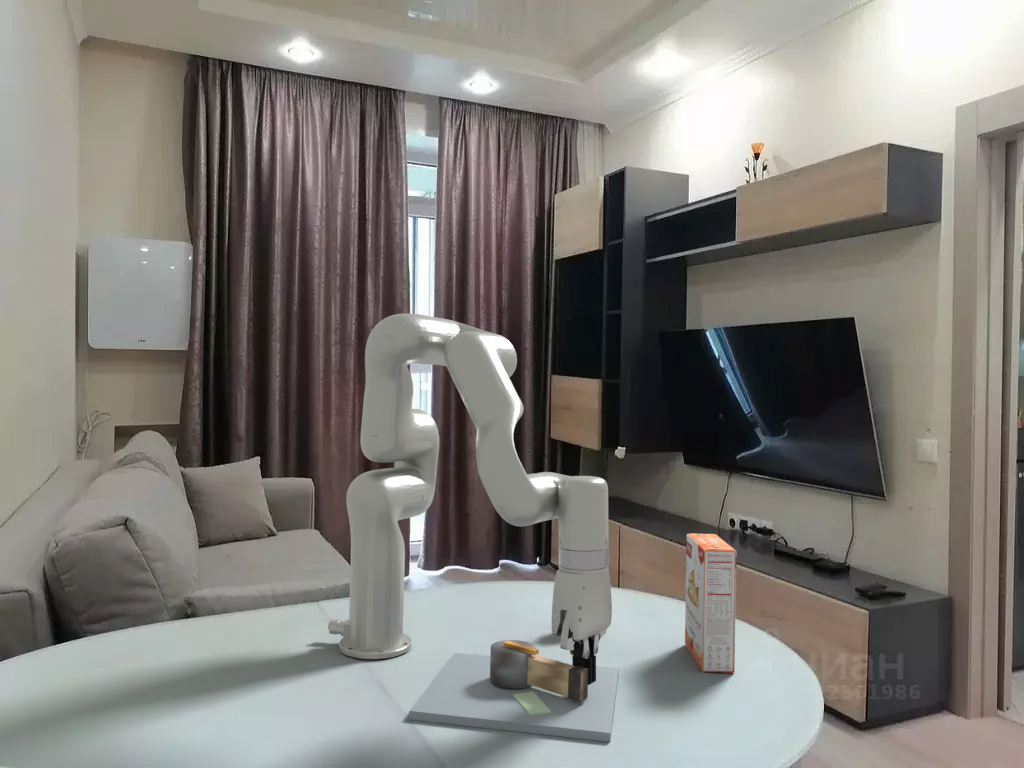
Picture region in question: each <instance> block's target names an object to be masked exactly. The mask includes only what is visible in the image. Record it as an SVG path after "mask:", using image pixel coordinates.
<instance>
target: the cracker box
mask: <svg viewBox="0 0 1024 768" xmlns="http://www.w3.org/2000/svg"><path fill="white" fill-rule="evenodd" d="M685 548H686V549H685V551H686V552H685V553H686V554H685V556H686V557H685V558H686V559H685V567H686V568H685V569H686V570H685V617H684V620H685V621H684V622H685V623H684V644H685V646H686V648H687V649H688V651H689V652H690V654H691V656H692V658H693V659H694V661H695V662H696V665H697V666H698V668H699V669H700V672H702V673H725V674H726V673H729V674H730V673H732V674H734V673H735V668H736V667H735V661H736V660H735V658H736V656H735V655H736V607H737V606H736V605H737V604H736V603H737V601H736V599H737V598H736V595H737V594H736V593H737V562H738V561H737V559H738V558H737V557H738V555H737V550H735V548H734V547H733V546H731V545H730V544H728V543H727V542H726V541H725V540H723V539H722V538H721V537H720V536H718V535H717V533H716V534H715V533H698V532H697V533H694V532H693V533H687V534H686V547H685Z"/></svg>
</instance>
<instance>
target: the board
mask: <svg viewBox="0 0 1024 768" xmlns="http://www.w3.org/2000/svg"><path fill="white" fill-rule="evenodd" d="M565 663H566V664H569V665H573V663H567V662H565ZM619 673H620V668H619V667H610V666H599V665H596V681H595V682H594V683H592V684H590V685H588V697H587V698H586V699H584V700H582V701H581V702H578V701H575V700H571V699H568V697H566V696H563V695H560V694H557V693H554V692H551V691H548V690H544V689H541V688H538V687H535V686H532V685H530V686H528V687H525V688H517V689H510V688H503V687H499V686H496V685H494V684H493V683H491V681H490V655H484V654H472V653H463V652H462V653H461V652H453V654H452V655H451V657H449V659H448V660H447V662H446V663H445V664H444V665H443V666H442V668H441V669H440V671H438V673H437V675H436V676H435V678H433V680H432V681H431V682H430V684H429V685H428V686H427V688H426V689H425V690H424V692H423V693H422V694H421V696H419V699H418V700H417V701H416V702H415V703H414V705H413V706H412V707H411V709H410V710H409V720H412V721H420V722H430V723H439V724H447V725H458V726H466V727H473V728H474V727H475V728H482V729H493V730H500V731H501V730H502V731H509V732H516V733H517V732H519V733H527V734H536V735H546V736H552V737H553V736H554V737H561V738H570V739H571V738H573V739H579V740H580V739H581V740H588V741H589V740H590V741H598V742H606V743H611V739H612V731H613V723H614V715H615V707H616V701H615V700H616V699H617V693H616V692H617V691H618V683H619V676H620V674H619Z"/></svg>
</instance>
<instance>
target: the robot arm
mask: <svg viewBox="0 0 1024 768" xmlns="http://www.w3.org/2000/svg"><path fill="white" fill-rule="evenodd" d="M366 340H367V341H366V345H365V353H364V355H365V356H364V366H365V367H364V369H365V385H364V387H365V388H364V393H363V405H362V416H361V425H360V448H361V452H362V453H363V455H364V457H366V459H368V460H369V461H372V462H375V463H394V467H388V468H381V469H373V470H369V471H366V472H363V473H361V474H359V475H358V476H356V477H355V478H354V479H353V480H352V482H350V484H349V486H348V489H347V491H346V497H345V499H346V501H345V502H346V509H347V515H348V521H349V529H350V530H349V531H350V576H349V577H350V578H349V605H348V606H349V608H348V609H349V612H348V613H349V614H348V615H349V617H348V619H346V620H341V619H332V618H331V619H330V620H329V622H328V625H327V629H328V633H329V635H341V637H342V638H341V640H340V641H339V651H340V652H341V653H342V654H344V655H345V656H348V657H351V658H355V659H360V660H361V659H362V660H380V659H381V660H383V659H390V658H394V657H398V656H401V655H403V654H406V653H407V652H408V651H409V650H410V649H411V648H412V639H411V637H410V636H409V635H407V634H405V633H404V608H405V607H404V604H405V602H404V599H405V569H406V568H405V565H406V564H405V563H406V561H405V559H406V557H405V556H406V546H405V540H404V536H403V534H402V532H401V531H402V530H401V528H400V525H399V523H398V522H399V521H401V520H405V519H410V518H414V517H417V516H420V515H422V514H424V513H426V511H427V510H428V509H429V508H430V506H431V505H432V503H433V500H434V497H435V492H436V485H437V484H436V483H437V475H438V474H437V472H438V464H439V463H438V462H439V452H440V434H439V429H438V426H437V423H436V421H435V419H434V418H433V417H432V416H431V415H430V414H429V413H428V412H427V411H425V410H422V409H419V408H413V397H414V384H413V379H412V375H411V372H410V369H409V368H408V366H409V365H412V364H421V365H431V366H432V365H433V366H434V365H435V366H443V367H446V369H447V371H448V373H449V375H450V377H451V379H452V381H453V383H454V385H455V388H456V389H457V391H458V394H459V395H460V398H461V400H462V402H463V404H464V406H465V408H466V410H467V412H468V415H469V417H470V419H471V421H472V423H473V425H474V427H475V430H476V431H475V432H476V436H475V462H476V467H477V472H478V475H479V478H480V480H481V483H482V486H483V488H484V490H485V492H486V493H487V496H488V497H489V499H490V500H489V501H490V502H491V504H492V505H493V507H494V510H495V511H496V512H497V513H498V514H499V515H498V516H500V517H501V518H502V519H503V520H504V521H505V522H506V523H508V524H509V525H511V526H515V527H520V528H521V527H527V526H531V525H535V524H538V523H542V522H545V521H546V522H547V521H550V520H554V519H558V569H557V570H556V572H555V573H556V574H555V577H554V578H555V579H554V584H553V590H552V591H553V592H552V604H551V633H552V636H554V637H560V644H559V648H560V649H561V650H565V651H569V654H570V655H571V656H572V661H571V662H572V664H573V666H576V665H577V666H581V667H584V668H588V685H590V684H592V683H594V682H595V681H596V666H597V654H598V652H599V643H600V640H601V638H602V637H604V635H606V634H607V630H608V629H609V628H610V626H611V624H612V614H613V613H612V612H613V607H612V606H613V605H612V604H613V603H612V588H611V585H612V584H611V578H610V572H609V571H610V569H609V567H610V566H609V564H610V563H609V561H610V559H609V555H610V554H609V553H610V552H609V549H610V548H609V486H608V483H607V481H606V479H604V478H602V477H599V476H595V475H594V476H592V475H572V476H571V475H566V474H561V473H558V472H557V473H556V472H551V471H542V472H537V473H527V472H526V469H525V468H524V466H523V464H522V462H521V461H520V458H519V455H518V452H517V450H516V447H515V441H514V433H515V428H516V425H517V423H518V421H519V420H520V419H521V417H522V416H523V414H524V409H525V407H524V404H523V402H522V400H521V398H520V397H519V395H518V392H517V391H516V388H515V387H514V384H513V382H512V380H511V377H512V376H513V374H514V373H515V371H516V369H517V365H518V358H517V357H518V356H517V352H516V349H515V347H514V345H513V344H512V342H510V340H509V339H507V338H506V337H504V336H503V335H500V334H498V333H494V332H490V331H487V330H484V329H481V328H477V327H474V326H471V325H468V324H466V323H461V322H459V321H456V320H451V319H447V318H443V317H436V316H435V317H434V316H430V315H424V314H418V313H397V314H392V315H389V316H387V317H385V318H383V319H381V320H380V321H378V322H377V324H376V325H375V326H374V327H373V328H372V329H371V331H370V333H369V335H368V338H367V339H366Z"/></svg>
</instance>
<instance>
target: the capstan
mask: <svg viewBox="0 0 1024 768" xmlns="http://www.w3.org/2000/svg"><path fill="white" fill-rule="evenodd" d="M539 651H540V650H539V649H538V648H536V646H535V645H534V644H532V643H531V642H528V641H524V640H519V639H518V640H516V639H504V640H498V641H495V642H493V643H492V644H491V645H490V655H489V656H490V681H491V683H493V684H494V685H496V686H499V687H503V688H510V689H517V688H525V687H528V686H530V685H532V686H535V687H538V688H541V689H544V690H548V691H551V692H554V693H557V694H560V695H563V696H566V697H568V699H571V700H575V701H578V702H581V701H582V700H584V699H586V698H587V697H588V668H584V667H581V666H577V665H576V666H573V665H569V664H570V663H569V664H566V663H567V662H562V661H559V660H556V659H551V658H548V657H545V656H542V655H539V654H540V653H539Z"/></svg>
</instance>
